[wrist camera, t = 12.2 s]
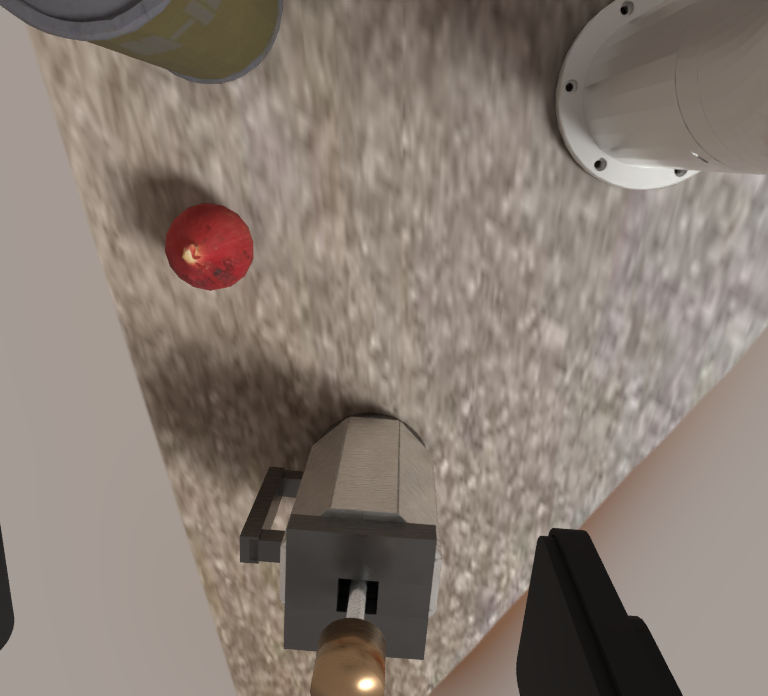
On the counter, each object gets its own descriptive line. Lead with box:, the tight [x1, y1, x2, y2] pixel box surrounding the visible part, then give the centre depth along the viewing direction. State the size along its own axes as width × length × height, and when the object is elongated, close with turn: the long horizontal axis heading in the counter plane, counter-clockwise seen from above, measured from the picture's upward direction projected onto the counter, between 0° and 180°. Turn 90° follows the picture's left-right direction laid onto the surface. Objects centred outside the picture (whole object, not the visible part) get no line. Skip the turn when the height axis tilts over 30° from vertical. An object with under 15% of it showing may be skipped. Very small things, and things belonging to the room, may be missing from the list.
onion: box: [165, 203, 253, 291], centre depth 41 cm, size 6×6×8 cm
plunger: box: [310, 579, 386, 696], centre depth 39 cm, size 7×7×20 cm
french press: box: [240, 413, 442, 660], centre depth 43 cm, size 13×10×16 cm
